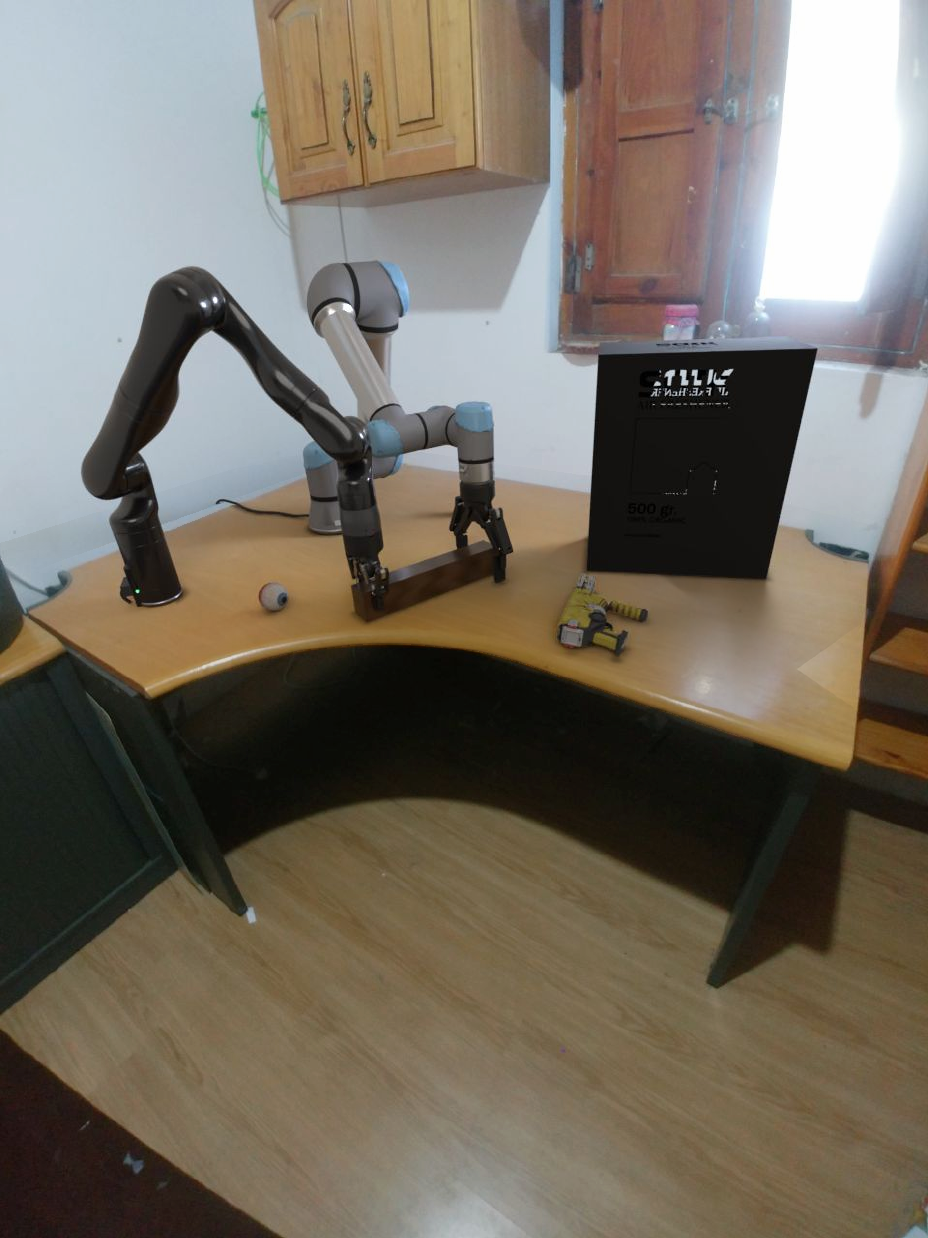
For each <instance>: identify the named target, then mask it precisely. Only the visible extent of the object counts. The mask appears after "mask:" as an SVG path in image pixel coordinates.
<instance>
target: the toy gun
mask: <svg viewBox="0 0 928 1238" xmlns="http://www.w3.org/2000/svg"><path fill="white" fill-rule="evenodd" d="M586 580H588V581H586ZM596 580H597V578H596V577H595V575H589V577H587V574H585V573H582V574H580V576H579V578H578V581H577V584H576V585H575V587H573V588H572V592H571V594H570V596H569V599H568V601H567V602H566V605H565V608H564V610H563V612H562V614H561V616H560V619H559V622H558V623H557V626H556V635H555V640H556V641H557V642H558V643H561V644H563V646H564V647H565V648H568V647H569V648H570V649H574V647H577V648H585V647H589V646H591V645H593V644H596V645H599V646H602V647H605V648H607V649H610V650H613V651H614V652H615V656H616V657H620V656H621V655H622V653H623V652H624V649H625V648H626V644H627V640H628V636H629V631H626V630H625V629H623V630H621V632H620V633H618V632H615V631H613V630H614V627H613V624H612V623H611V622H608V618H607V614H608V613H609V612H611V613H613V614H614V613H616V614H618V615H623V616H624V617H629V618H630V619H635V620H637V621H639V622H641V623H643V622H646V621H647V619H648V616H649V610H648V609H647V608H643V607H637V606H636V605H631V604H629V603H625V602H621V601H620V602H619V601H617V600H615V599H613V600H611V601H610V602H609V603H608V601H607V600H606V598H605V597H604V596H603V595H599V594H597V593H596V594H595V593H594V591H595V588H596V587H595V586H596Z"/></svg>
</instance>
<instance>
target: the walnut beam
mask: <svg viewBox="0 0 928 1238" xmlns="http://www.w3.org/2000/svg"><path fill="white" fill-rule="evenodd" d="M494 554H496V553H495V551H494V549H493V547H492V545H491V543H490V541H486V540H484V539H483V540H480V541H479V540H478V541H477V542H476V541H475V542H474V543H471V544H468V546H465V547H462V548H459V549H457V548H456V549H453V550H450V551H448V552H445V553H440V554H438V555H436V556H433V557H430V558H426V559H424V560H421V561H418V562H415V563H412V564H410V565H406V566H403V567H400V568H397V569H394V570H392V571H389V593H387V594H384V595H383V597H384V605H385V608H384V610H381V611H379V612H376V611H374V608H373V602H372V594H371V591H370V587H369V585H366V582H365V581H362V582H359V583H356V582H355V583H354V584H351V585H350V590H351V595H352V602H353V607H354V614H356V615H357V616H358V617H359V618H361V619H362V620H363V621H364V622H366V623H369V622H371V621H374V620H377V619H379V618H382V617H385V616H388V615H390V614H393V613H395V612H398V611H400V610H404V609H406V608H408V607H411V606H414V605H416V604H419V603H422V602H424V601H428V600H430V599H432V598H435V597H437V596H440V595H443V594H445V593H448V592H450V591H453V590H456V589H458V588H461V587H463V586H467V585H469V584H472V583H475V582H477V581H479V580H483V579H484V578H488V577H489V576H494V564H493V555H494ZM369 579H370V580H373V579H375V577H372V578H369ZM374 588H375V584H374Z"/></svg>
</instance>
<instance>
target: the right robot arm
mask: <svg viewBox="0 0 928 1238" xmlns="http://www.w3.org/2000/svg"><path fill="white" fill-rule="evenodd" d="M409 309H410V292H409V287H408V284H407V280H406V279H405V275H404V273H403V272H402V270H401V268H400V267H399V266H398V265H397V264H395V263H394V262H392V261H385V260H383V261H382V260H377V259H375V260H367V261H355V262H354V261H353V262H334V263H329V264H327V265H324V266H323V267H321V268H320V269H319V270H318V271H317V272H316V273H315V274H314V276H313V277H312V279H311V280H310V283H309V285H308V288H307V294H306V311H307V315H308V319H309V321H310V323H311V325H312V326H311V327H312V328H313V329H314V332H315V334H317V336H319V337H320V338H321V339H324V340H325V342H326V344H327V346H328V348H329V350H330V352H331V353H332V356H333V358H334V359H335V361H336V363H337V365H338V366H339V369H340V371H341V372H342V374H343V376H344V378H345V380H346V381H347V384H348V385H349V387H350V389H351V391H352V393H353V395H354V396H355V398H356V408H357V409H356V413H357V414H356V417H357V418H359V419H361V420H362V421H363V422H364V423H365V424H366V425H367V427H368V429H369V432H370V436H371V444H372V473H373V481H374V480H378V479H385V478H387V477H389V476H393V475H395V474H396V473H398V472H399V471H400V470H401V467H402V465H403V462H404V461H403V460H404V455H405V454H409V453H414V452H418V451H425V450H429V449H433V448H438V447H439V448H440V447H443V446H450V447H454V448H457V461H458V477H459V480H460V481H459V495H457V496H455V497H454V507H453V511H452V515H451V520H450V523H449V526H448V530H449V532H453V535H454V537H455V546H456V549H459V548H462V547H465V546H468V545H469V538H468V531H467V530H468V529H469V528H470V526H471V524H472V523H474V522H475V523H476V524H477V525H479V526H480V528H481V529H482V530H483V531H484V532H485V534H486V536H487V539H488V542H489V543H491V545H492V547H493V549H494V551H495V553H496V554H494V555H493V564H494V574H493V582H494V583H495V584H497V583H500V582H503V581H505V580H506V579H507V577H506V576H507V575H506V571H507V570H506V568H507V564H508V563H507V555H508V556H509V555H510V554H513V553H514V548H513V544H512V542H511V538H510V535H509V531H508V528H507V525H506V521H505V519H504V511H503V508H502V506H501V507H496V508H495V507H493V502H492V501H493V500H494V498H495V496H496V482H495V477H496V469H495V468H496V467H495V434H494V432H495V430H494V427H495V422H494V417H493V408H492V405H491V404H490V403H489V402H486V401H477V400H476V401H475V400H474V401H465V402H464V401H463V402H461V403H459V404H457V405H456V406H455V407H451V406H448V405H438V404H437V405H432V406H431V407H429V408H428V409H427V410H425V411H419V412H414V413H408V414H406V413H405V410H404V409H403V407H402V405H401V403H400V402H399V400H398V398H397V396H396V394H395V392H394V391H393V389H392V346H393V344H392V343H393V341H392V340H393V335H395V333H396V332H398V330H399V321H400V320H399V318H400V319H402V318H404V317H405V316H406V315H407V314H408V312H409ZM302 457H303V459H302V460H303V467H304V471H305V476H306V481H307V486H308V492H309V498H310V507H309V513H299V514H297V513H296V514H295V513H287V512H284V511H277V510H260V509H259V510H258V509H252V508H249V507H246V506H244V505H243V504H240V503H239V502H237V501H233V500H229V499H225V498H219V499H218V500H216V501H215V505H218V504H220V503H221V502H225V503H229V504H232V505H236V506H237V507H239V508H240V509H242V510H245V511H248V512H251V513H255V514H266V515H269V514H270V515H272V514H273V515H280V516H286V517H291V518H292V517H293V518H305V517H306V518H308V528H309V529H308V530H310V531H311V532H312V533H314V534H317V535H323V536H324V535H325V536H327V535H329V536H331V535H339V534H340V535H342V529H341V523H340V509H339V502H338V496H337V489H336V479H337V475H338V468H337V461H336V460H334V459H333V458H331V457H330V456H329V455H328V454H326V453H325V452H324V451H323V450H322V449H321V447H320V446H319V445H318V444H317V443H316V442H315V441H314V440H312V441H311V442H309V443H308V444H306V445H305V446H304V448H303V450H302Z"/></svg>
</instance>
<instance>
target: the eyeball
mask: <svg viewBox="0 0 928 1238" xmlns="http://www.w3.org/2000/svg"><path fill="white" fill-rule="evenodd" d="M289 596H290V595H289V592H288V590H287V588H286V587H285V586H284V585H283V584H281V583H279V582H276V581H273V582H267V583H266V584H265V583H264V584H263V586H261V588H260V589H259V592H258V601H259V604H260V605H261V606H262V608H264V609H265V610H268V611H270V612H277V611H280V610H282V609H284V608H285V607H286V605H287V604H288V601H289Z"/></svg>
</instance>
